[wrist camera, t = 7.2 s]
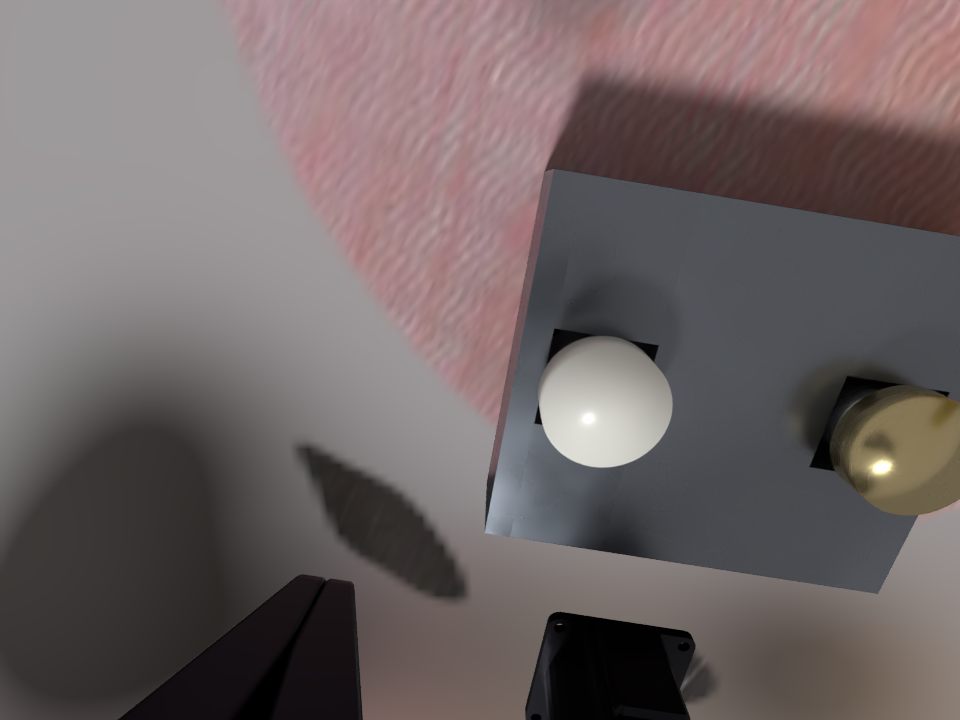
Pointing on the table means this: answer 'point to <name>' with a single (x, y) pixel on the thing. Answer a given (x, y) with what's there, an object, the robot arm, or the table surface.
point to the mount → (722, 375)
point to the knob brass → (896, 445)
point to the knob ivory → (602, 399)
